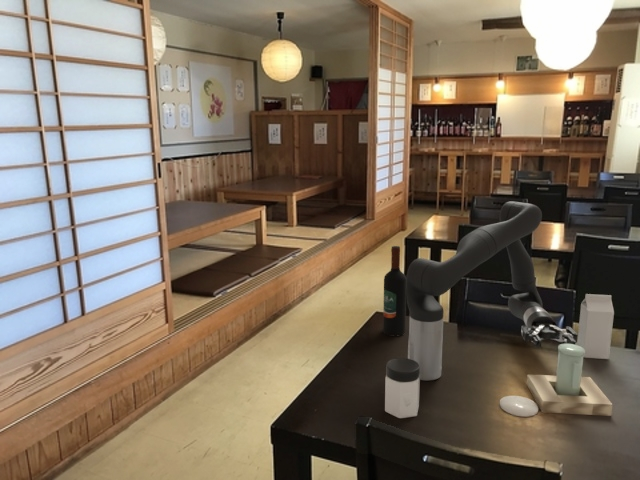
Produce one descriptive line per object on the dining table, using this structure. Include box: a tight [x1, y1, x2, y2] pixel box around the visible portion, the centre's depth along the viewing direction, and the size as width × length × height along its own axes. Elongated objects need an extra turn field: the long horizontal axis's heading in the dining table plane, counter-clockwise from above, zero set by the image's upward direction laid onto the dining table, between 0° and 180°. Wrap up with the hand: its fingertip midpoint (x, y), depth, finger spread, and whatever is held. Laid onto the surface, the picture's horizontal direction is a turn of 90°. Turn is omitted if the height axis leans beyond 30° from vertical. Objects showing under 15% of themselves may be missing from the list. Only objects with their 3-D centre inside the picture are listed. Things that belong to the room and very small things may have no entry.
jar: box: [384, 357, 421, 419], centre depth 127 cm, size 9×8×12 cm
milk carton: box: [576, 293, 615, 360], centre depth 156 cm, size 7×7×19 cm
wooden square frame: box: [526, 374, 613, 417], centre depth 132 cm, size 16×14×3 cm
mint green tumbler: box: [555, 343, 585, 396], centre depth 130 cm, size 6×8×14 cm
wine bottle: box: [382, 245, 407, 337], centre depth 174 cm, size 8×8×30 cm
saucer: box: [499, 395, 539, 418], centre depth 129 cm, size 9×9×1 cm
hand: (556, 344), depth 141 cm, fingers open, 8 cm apart
